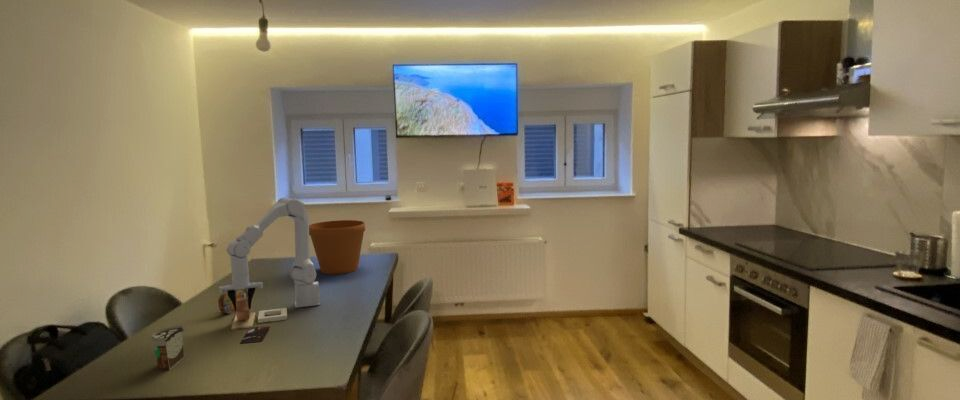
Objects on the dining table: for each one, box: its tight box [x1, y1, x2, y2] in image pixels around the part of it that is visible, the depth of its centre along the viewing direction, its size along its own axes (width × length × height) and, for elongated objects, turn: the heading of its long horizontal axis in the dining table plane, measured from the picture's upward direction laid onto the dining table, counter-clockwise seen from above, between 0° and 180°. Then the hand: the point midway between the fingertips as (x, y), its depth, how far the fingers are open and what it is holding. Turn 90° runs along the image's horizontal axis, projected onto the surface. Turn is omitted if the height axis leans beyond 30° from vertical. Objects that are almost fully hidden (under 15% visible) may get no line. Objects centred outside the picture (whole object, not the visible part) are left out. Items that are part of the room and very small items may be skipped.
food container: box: [150, 324, 185, 371], centre depth 162 cm, size 12×6×10 cm, turn 5°
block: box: [236, 298, 251, 320], centre depth 199 cm, size 4×4×7 cm
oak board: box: [230, 312, 257, 331], centre depth 199 cm, size 7×16×1 cm, turn 19°
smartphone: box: [239, 325, 271, 345], centre depth 185 cm, size 7×1×15 cm
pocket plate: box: [257, 307, 288, 324], centre depth 204 cm, size 10×10×2 cm
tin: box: [217, 289, 248, 315], centre depth 213 cm, size 15×3×8 cm, turn 168°
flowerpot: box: [309, 219, 366, 275], centre depth 276 cm, size 28×28×24 cm
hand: (243, 309), depth 199 cm, fingers closed on block, 4 cm apart
